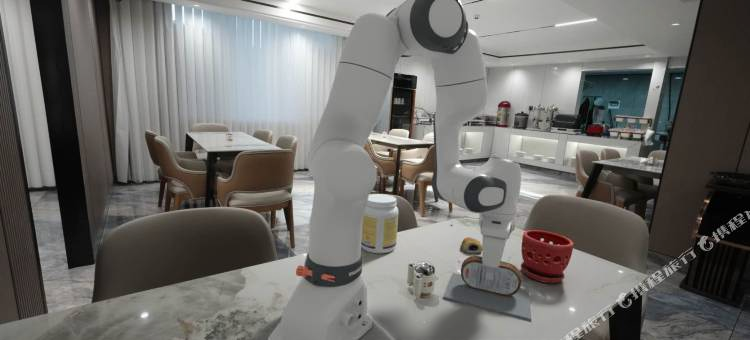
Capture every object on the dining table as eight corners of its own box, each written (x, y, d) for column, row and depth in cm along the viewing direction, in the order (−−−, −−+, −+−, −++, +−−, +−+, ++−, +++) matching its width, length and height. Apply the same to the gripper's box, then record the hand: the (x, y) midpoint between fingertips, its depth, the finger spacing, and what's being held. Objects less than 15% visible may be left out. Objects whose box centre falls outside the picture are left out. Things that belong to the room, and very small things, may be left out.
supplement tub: (392, 240, 121) (396, 193, 118) (399, 254, 109) (403, 203, 106) (358, 239, 119) (360, 192, 116) (360, 254, 107) (363, 202, 104)
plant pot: (571, 290, 93) (579, 249, 90) (519, 280, 97) (525, 240, 94) (562, 270, 105) (568, 233, 103) (516, 261, 109) (521, 225, 107)
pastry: (459, 242, 123) (460, 232, 122) (478, 244, 122) (480, 234, 122) (462, 252, 114) (464, 242, 113) (483, 255, 113) (485, 244, 112)
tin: (519, 295, 88) (524, 264, 86) (519, 301, 85) (524, 269, 83) (459, 281, 93) (463, 252, 92) (458, 286, 90) (461, 256, 89)
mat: (531, 320, 78) (531, 318, 78) (443, 298, 85) (443, 296, 85) (528, 291, 91) (529, 290, 91) (452, 274, 98) (452, 272, 98)
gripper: (487, 208, 98) (481, 253, 101) (480, 229, 80) (473, 284, 82) (510, 211, 96) (504, 257, 98) (509, 235, 77) (501, 291, 80)
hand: (490, 270), depth 90 cm, fingers open, 8 cm apart
